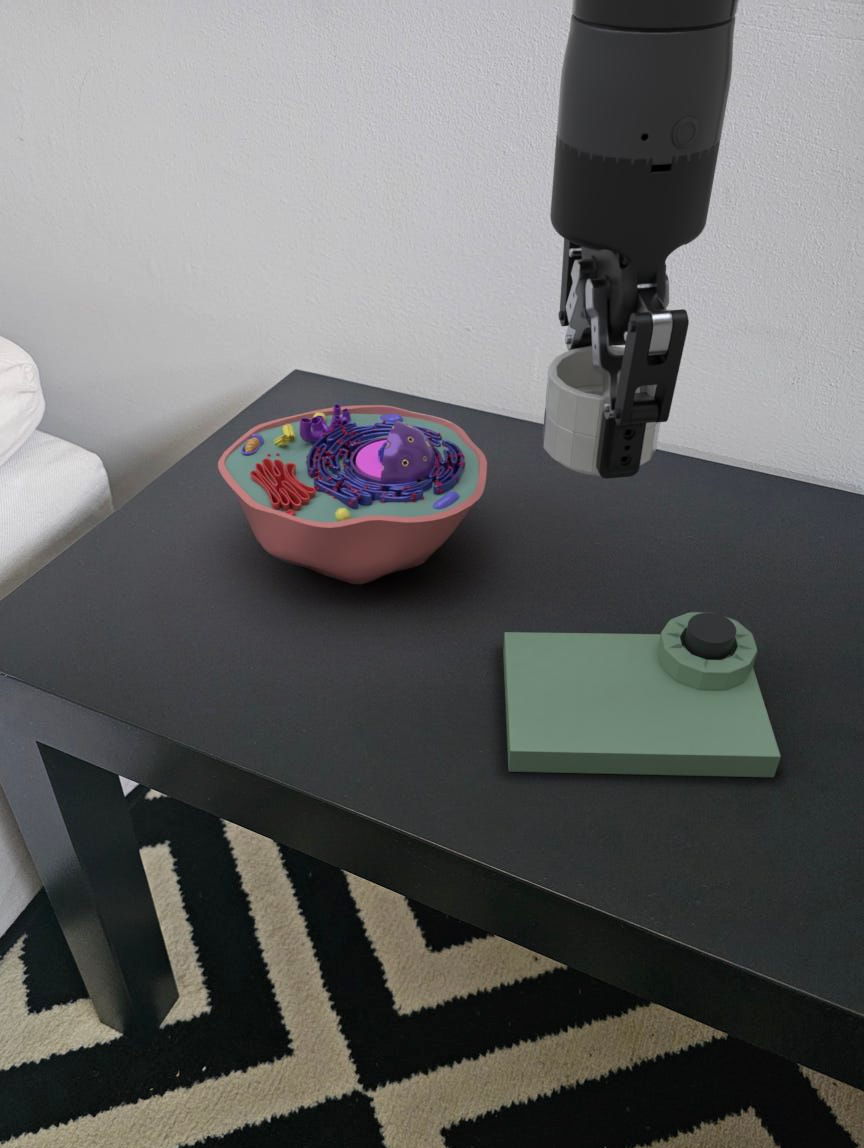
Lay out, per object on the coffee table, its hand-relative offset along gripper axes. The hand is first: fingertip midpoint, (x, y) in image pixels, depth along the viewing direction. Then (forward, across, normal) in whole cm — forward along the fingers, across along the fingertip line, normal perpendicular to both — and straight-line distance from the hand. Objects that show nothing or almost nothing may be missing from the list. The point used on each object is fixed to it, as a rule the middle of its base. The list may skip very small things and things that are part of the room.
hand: (599, 440), depth 59 cm
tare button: (+14, +2, +8) cm, 17 cm away
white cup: (+1, 0, 0) cm, 1 cm away
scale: (+18, +5, +3) cm, 18 cm away
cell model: (+18, -15, -13) cm, 27 cm away
